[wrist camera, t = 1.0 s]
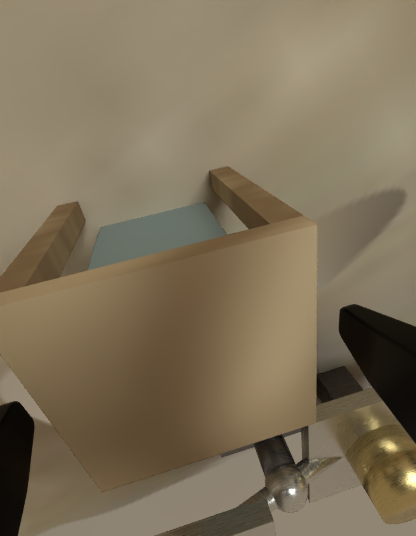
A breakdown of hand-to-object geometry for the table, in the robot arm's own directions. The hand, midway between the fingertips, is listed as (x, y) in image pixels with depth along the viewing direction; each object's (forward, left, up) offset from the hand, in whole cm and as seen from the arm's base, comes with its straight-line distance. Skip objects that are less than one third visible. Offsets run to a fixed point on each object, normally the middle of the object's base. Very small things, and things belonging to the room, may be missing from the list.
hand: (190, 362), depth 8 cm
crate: (0, 0, -6) cm, 7 cm away
